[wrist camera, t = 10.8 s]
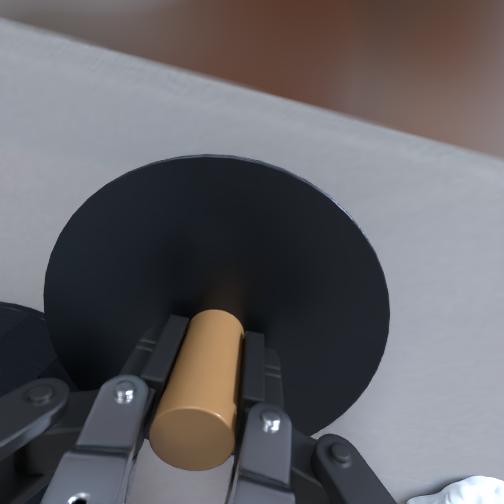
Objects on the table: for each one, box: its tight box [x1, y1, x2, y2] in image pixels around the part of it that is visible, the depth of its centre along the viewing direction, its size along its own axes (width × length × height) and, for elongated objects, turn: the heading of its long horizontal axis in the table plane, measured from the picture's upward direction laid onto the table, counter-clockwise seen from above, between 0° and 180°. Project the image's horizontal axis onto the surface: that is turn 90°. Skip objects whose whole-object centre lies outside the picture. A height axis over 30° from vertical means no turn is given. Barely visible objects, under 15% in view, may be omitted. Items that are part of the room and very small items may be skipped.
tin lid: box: [44, 154, 390, 471], centre depth 12 cm, size 14×14×6 cm
